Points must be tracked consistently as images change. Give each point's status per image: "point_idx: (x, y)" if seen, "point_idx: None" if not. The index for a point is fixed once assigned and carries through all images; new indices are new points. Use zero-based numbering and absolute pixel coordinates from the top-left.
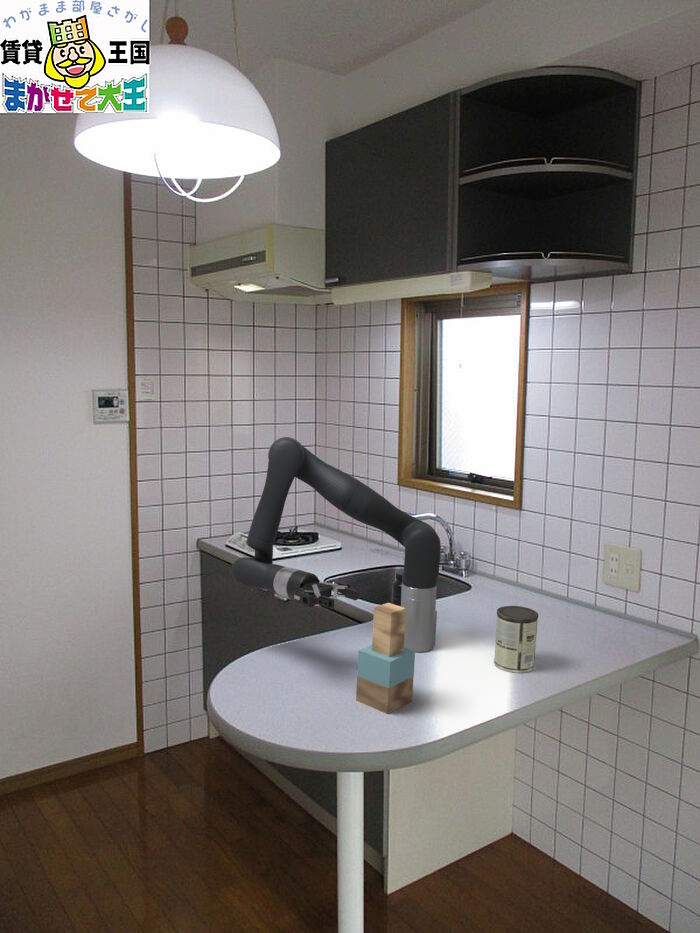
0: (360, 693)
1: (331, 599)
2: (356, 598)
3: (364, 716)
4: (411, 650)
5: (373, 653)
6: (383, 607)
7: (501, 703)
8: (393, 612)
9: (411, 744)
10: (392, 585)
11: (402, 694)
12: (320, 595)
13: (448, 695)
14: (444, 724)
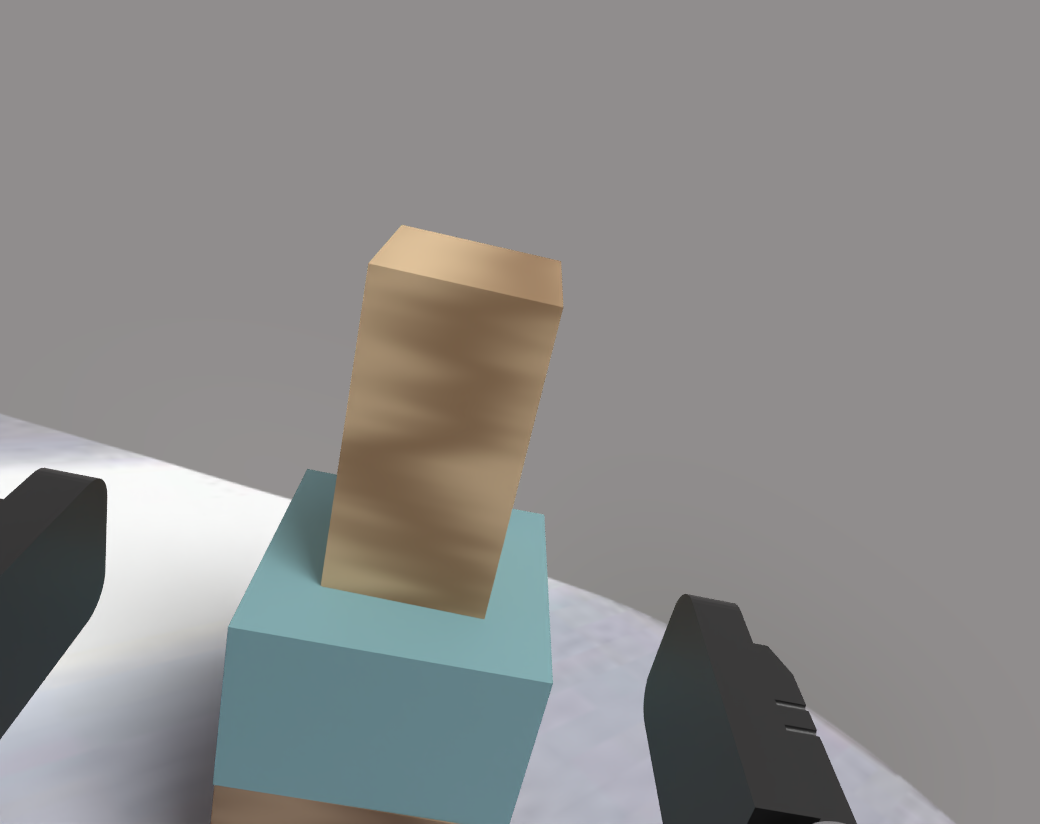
0: None
1: (732, 603)
2: (100, 569)
3: (587, 814)
4: (315, 480)
5: (520, 598)
6: (505, 279)
7: (112, 478)
8: (537, 256)
9: (610, 605)
10: None
11: None
12: (816, 822)
13: (120, 613)
14: None
